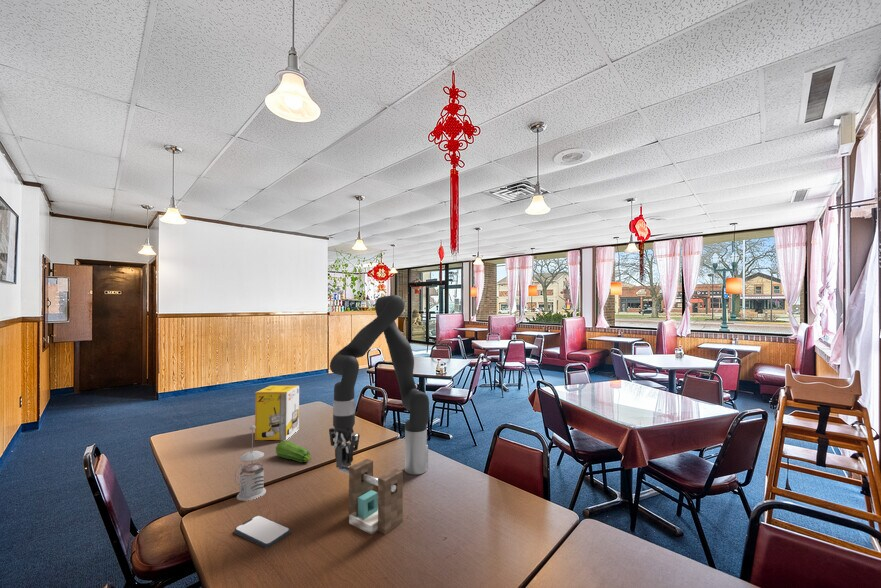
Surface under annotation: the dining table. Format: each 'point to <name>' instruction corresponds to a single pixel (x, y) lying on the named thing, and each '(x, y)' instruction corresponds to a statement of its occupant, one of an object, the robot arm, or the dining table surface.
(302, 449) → the vegetable
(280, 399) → the packaging box
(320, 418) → the dining table surface
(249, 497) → the french press
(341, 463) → the shaft
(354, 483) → the bearing frame
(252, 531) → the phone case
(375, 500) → the block
